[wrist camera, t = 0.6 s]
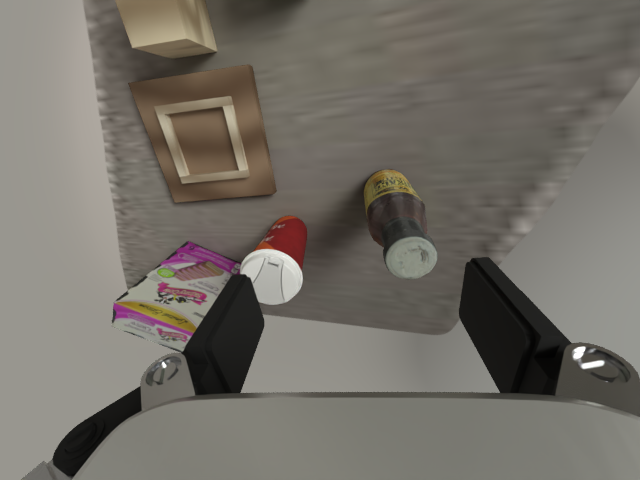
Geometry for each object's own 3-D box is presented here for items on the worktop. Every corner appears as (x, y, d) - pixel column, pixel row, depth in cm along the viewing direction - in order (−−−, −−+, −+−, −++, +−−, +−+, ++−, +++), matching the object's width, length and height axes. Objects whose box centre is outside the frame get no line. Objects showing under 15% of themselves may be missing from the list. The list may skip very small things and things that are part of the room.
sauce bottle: (412, 171, 36) (477, 233, 18) (398, 212, 39) (442, 298, 21) (367, 162, 36) (389, 215, 18) (356, 203, 39) (366, 283, 21)
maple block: (153, -4, 29) (103, -33, 23) (202, -14, 29) (163, -46, 22) (173, 59, 32) (132, 47, 26) (217, 51, 31) (186, 38, 25)
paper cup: (272, 203, 40) (240, 246, 28) (319, 217, 40) (308, 266, 28) (263, 244, 44) (232, 299, 31) (306, 257, 44) (292, 315, 32)
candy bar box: (247, 263, 46) (202, 336, 31) (239, 283, 48) (194, 359, 34) (186, 238, 44) (110, 302, 30) (181, 259, 47) (109, 329, 32)
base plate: (136, 83, 34) (122, 82, 32) (252, 66, 32) (245, 63, 30) (180, 199, 41) (170, 204, 39) (276, 190, 39) (272, 196, 37)
